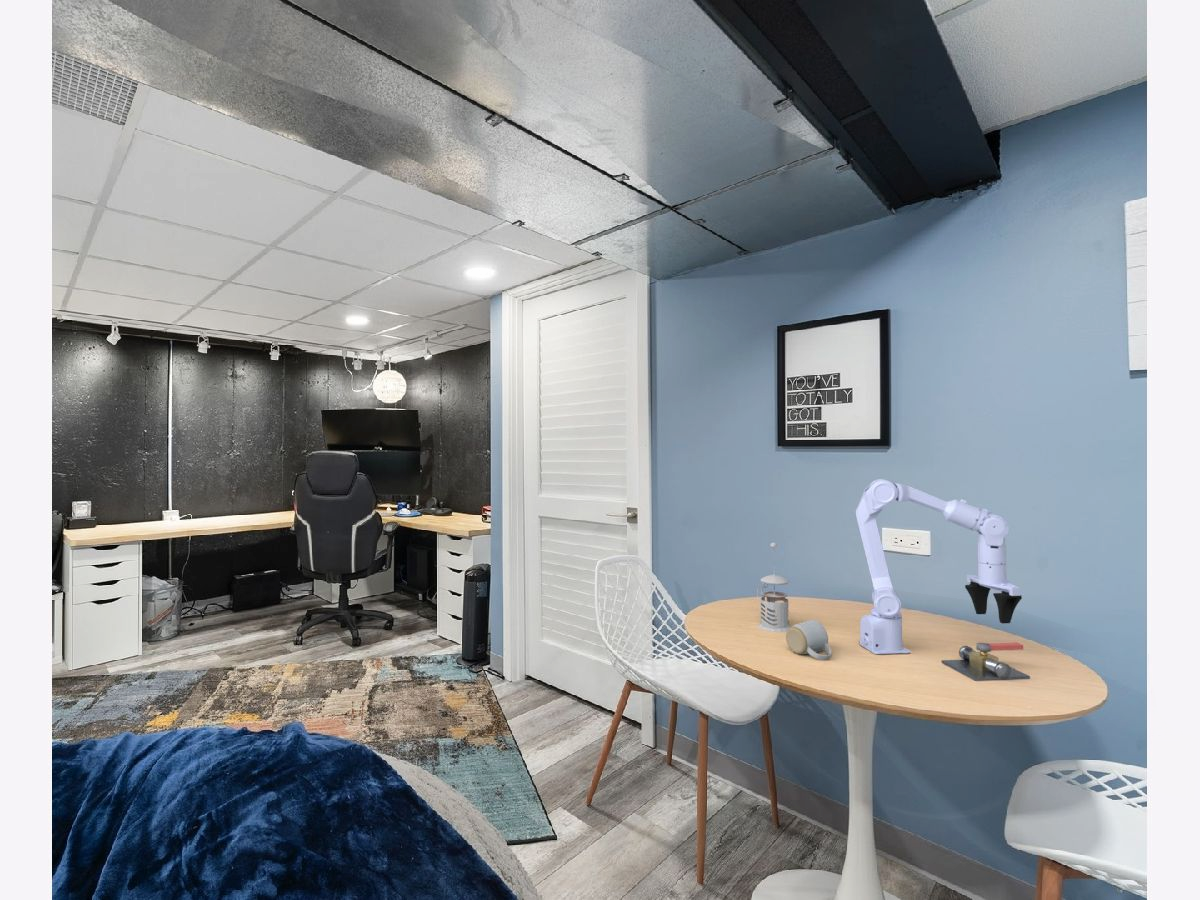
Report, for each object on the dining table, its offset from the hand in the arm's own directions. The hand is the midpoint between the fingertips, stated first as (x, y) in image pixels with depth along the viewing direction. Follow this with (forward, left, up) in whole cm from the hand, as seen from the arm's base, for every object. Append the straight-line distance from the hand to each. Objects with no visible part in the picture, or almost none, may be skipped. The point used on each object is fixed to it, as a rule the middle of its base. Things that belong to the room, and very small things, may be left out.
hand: (992, 618), depth 137 cm
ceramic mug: (-42, +9, -11) cm, 44 cm away
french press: (-43, +32, -11) cm, 55 cm away
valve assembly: (-7, -6, -10) cm, 14 cm away
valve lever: (-3, -5, -6) cm, 8 cm away
